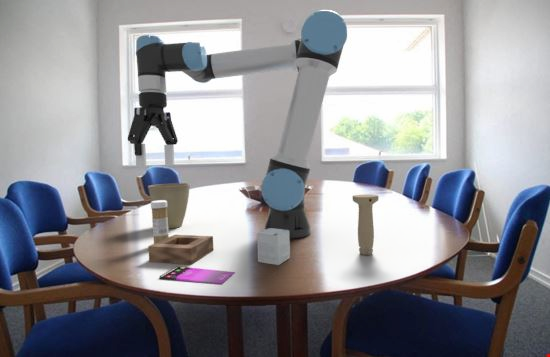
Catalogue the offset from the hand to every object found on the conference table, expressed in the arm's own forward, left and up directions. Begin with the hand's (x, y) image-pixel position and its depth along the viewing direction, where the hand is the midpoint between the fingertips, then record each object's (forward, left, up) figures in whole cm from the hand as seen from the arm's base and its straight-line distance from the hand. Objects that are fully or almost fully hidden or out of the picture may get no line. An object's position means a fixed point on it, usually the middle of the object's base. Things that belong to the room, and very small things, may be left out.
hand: (156, 166), depth 97 cm
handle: (-59, -2, -24) cm, 64 cm away
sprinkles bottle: (0, 0, -24) cm, 24 cm away
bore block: (-12, +8, -24) cm, 28 cm away
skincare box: (-37, +7, -24) cm, 45 cm away
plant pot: (+12, -24, -24) cm, 36 cm away
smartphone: (-23, +20, -24) cm, 39 cm away
